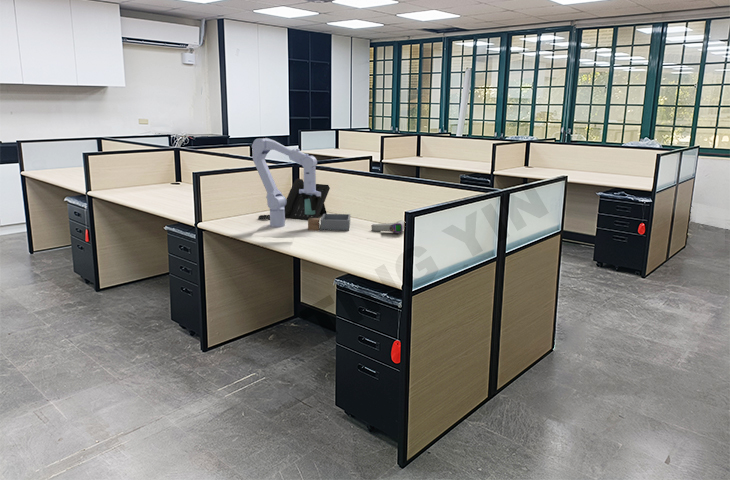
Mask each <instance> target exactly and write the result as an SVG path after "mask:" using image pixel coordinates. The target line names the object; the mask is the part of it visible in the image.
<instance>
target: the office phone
mask: <svg viewBox="0 0 730 480" xmlns="http://www.w3.org/2000/svg"><path fill="white" fill-rule="evenodd" d="M299 189H304V178H303V179H302V178H296V179H295V180H294V181H293V183H292V185H291V187H290V190H289V192H288V195H287V197H286V201H287V203H286V205H285V206H284V208H285V209H284V210H285V219H295V220H296V219H297V220H303V221H306V220H307V221H308V219H309V218H320V217H319V216H320V215H322V216H323V214H328V213H327V210H326V206H325V202H326V200H327V197H328V194H329V191H330V190H331V188H330V185H329V184H322V183H316V191H319V192H321V196H320V199H319V201H318V203H317V207H316V210H315V214H313V215H306V214H305V209H304V205H303V202H302V200H301V198H300V195H302V193H301V194H300V193H299ZM310 194H311V193H310ZM311 196H312V195H311ZM257 217H258V218H257V219H258V220H262V221H264V220H266V221H267V220H270V214H260V215H258V216H257Z"/></svg>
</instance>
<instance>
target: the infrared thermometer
mask: <svg viewBox="0 0 730 480" xmlns="http://www.w3.org/2000/svg"><path fill="white" fill-rule="evenodd" d="M404 222H405V220H398V221H396V222H389V223H371V231H372V232H392V233H397V234H399V233H402V232H403V231H404V230H405V228H404Z"/></svg>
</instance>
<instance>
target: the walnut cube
mask: <svg viewBox="0 0 730 480" xmlns="http://www.w3.org/2000/svg"><path fill="white" fill-rule="evenodd" d="M307 230H308V231H319V230H320V217H318V218H309V219H308V220H307Z"/></svg>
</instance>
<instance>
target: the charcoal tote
mask: <svg viewBox="0 0 730 480" xmlns="http://www.w3.org/2000/svg"><path fill="white" fill-rule="evenodd" d="M350 227H351V213H345V214H344V213H327V214H323V215H322V216H321V219H320V231H338V232H339V231H343V232H349V231H350Z"/></svg>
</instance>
